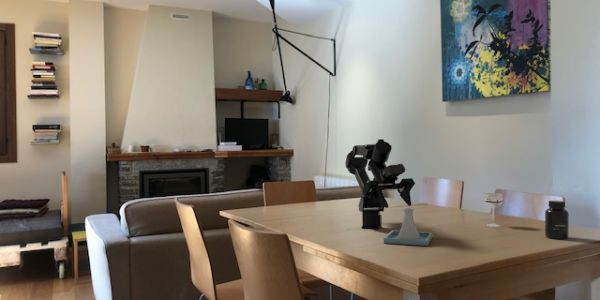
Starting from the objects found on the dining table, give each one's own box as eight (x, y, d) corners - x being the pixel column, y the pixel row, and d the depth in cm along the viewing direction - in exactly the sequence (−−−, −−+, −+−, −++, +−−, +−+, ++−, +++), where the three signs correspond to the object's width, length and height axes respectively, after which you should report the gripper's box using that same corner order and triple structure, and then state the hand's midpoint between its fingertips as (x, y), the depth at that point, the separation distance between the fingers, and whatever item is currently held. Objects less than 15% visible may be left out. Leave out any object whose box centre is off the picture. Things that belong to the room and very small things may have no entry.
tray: (383, 243, 149) (383, 237, 149) (391, 235, 162) (391, 230, 162) (427, 246, 144) (427, 240, 144) (432, 237, 157) (432, 232, 157)
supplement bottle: (560, 240, 149) (559, 203, 149) (540, 237, 155) (540, 200, 155) (573, 238, 152) (573, 201, 152) (553, 234, 158) (553, 199, 158)
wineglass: (499, 224, 181) (499, 192, 180) (505, 227, 174) (505, 194, 174) (481, 224, 181) (481, 193, 181) (486, 227, 174) (486, 195, 174)
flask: (412, 242, 148) (412, 211, 148) (393, 239, 153) (392, 209, 153) (424, 239, 153) (424, 208, 153) (405, 236, 158) (404, 206, 158)
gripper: (366, 157, 158) (385, 192, 148) (411, 155, 166) (432, 189, 156) (354, 178, 166) (372, 214, 156) (398, 176, 173) (417, 209, 163)
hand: (399, 206), depth 158 cm, fingers open, 9 cm apart
